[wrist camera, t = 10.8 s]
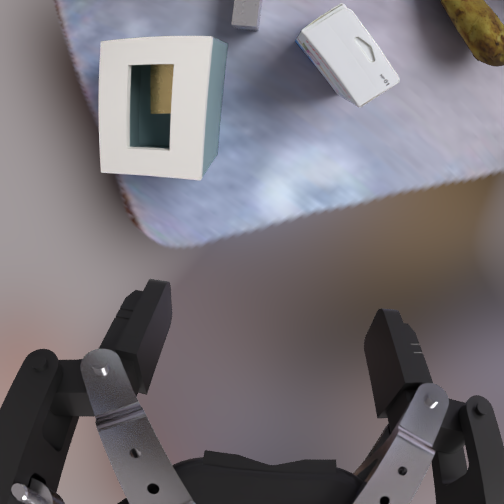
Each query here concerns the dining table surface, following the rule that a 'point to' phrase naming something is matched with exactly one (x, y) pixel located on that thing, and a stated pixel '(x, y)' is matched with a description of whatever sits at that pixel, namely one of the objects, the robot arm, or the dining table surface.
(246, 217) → the dining table surface
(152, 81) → the block
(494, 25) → the potato
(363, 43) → the ink box
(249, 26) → the grey rectangular block
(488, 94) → the dining table surface
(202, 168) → the box
